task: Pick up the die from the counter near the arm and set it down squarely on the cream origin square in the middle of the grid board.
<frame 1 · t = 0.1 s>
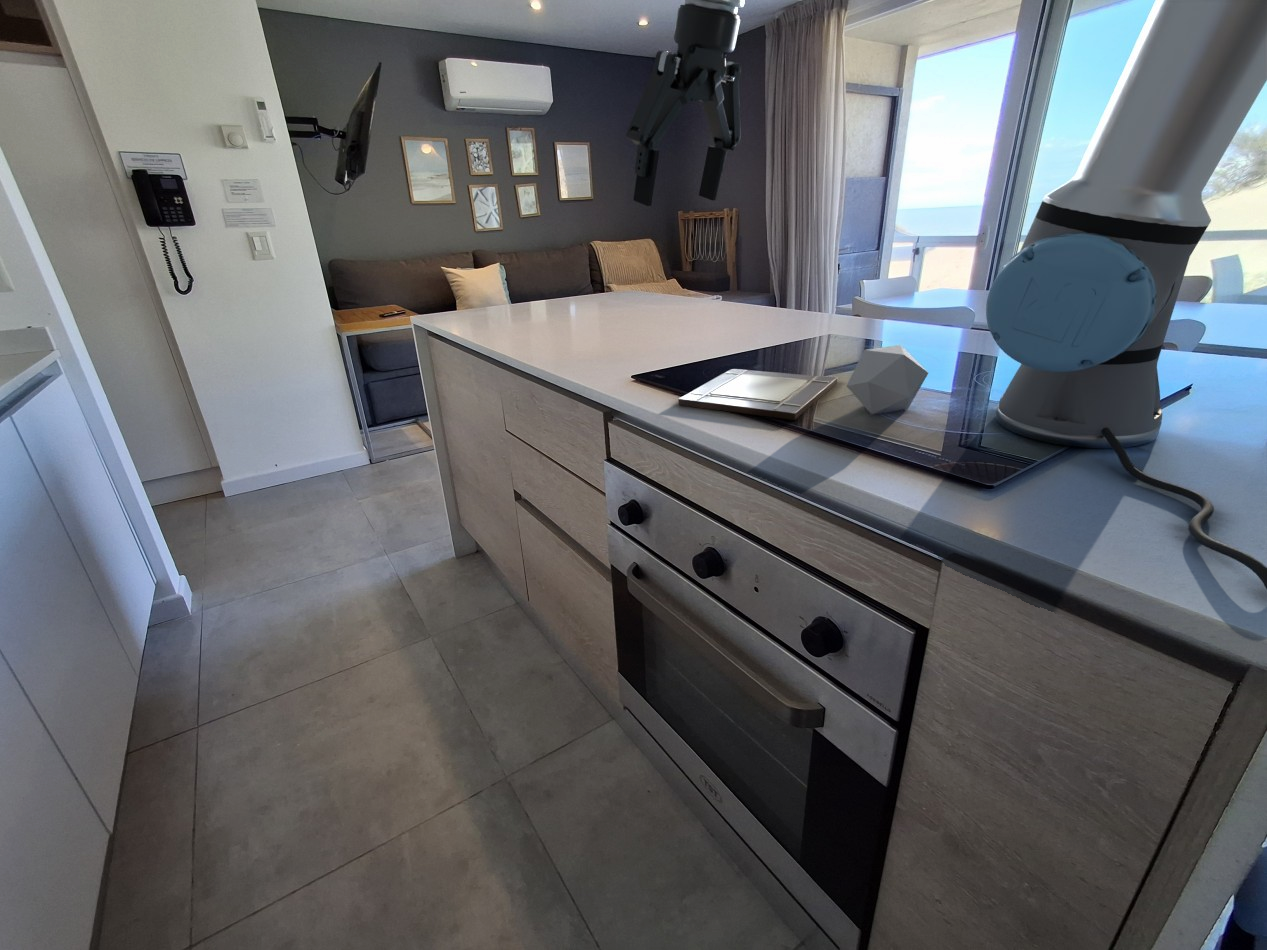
hand: (676, 200, 80), 28 cm above the countertop, tool tilted 20°, fingers open, 13 cm apart
board: (759, 394, 87), on the countertop
die: (883, 409, 77), on the countertop
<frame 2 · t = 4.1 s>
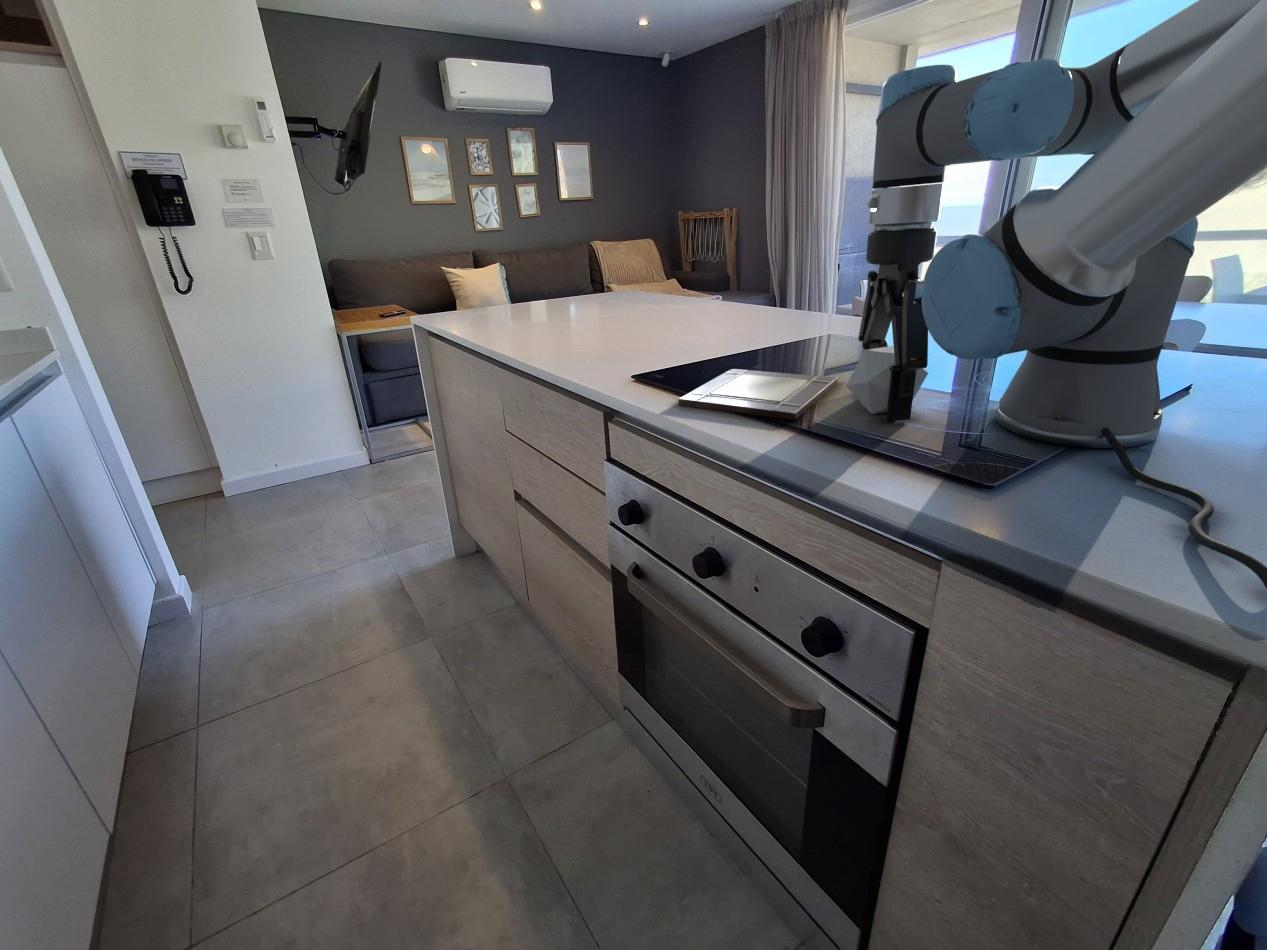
hand: (883, 406, 77), 0 cm above the countertop, tool pointing down, fingers closed on die, 10 cm apart
die: (883, 409, 77), on the countertop, touching gripper
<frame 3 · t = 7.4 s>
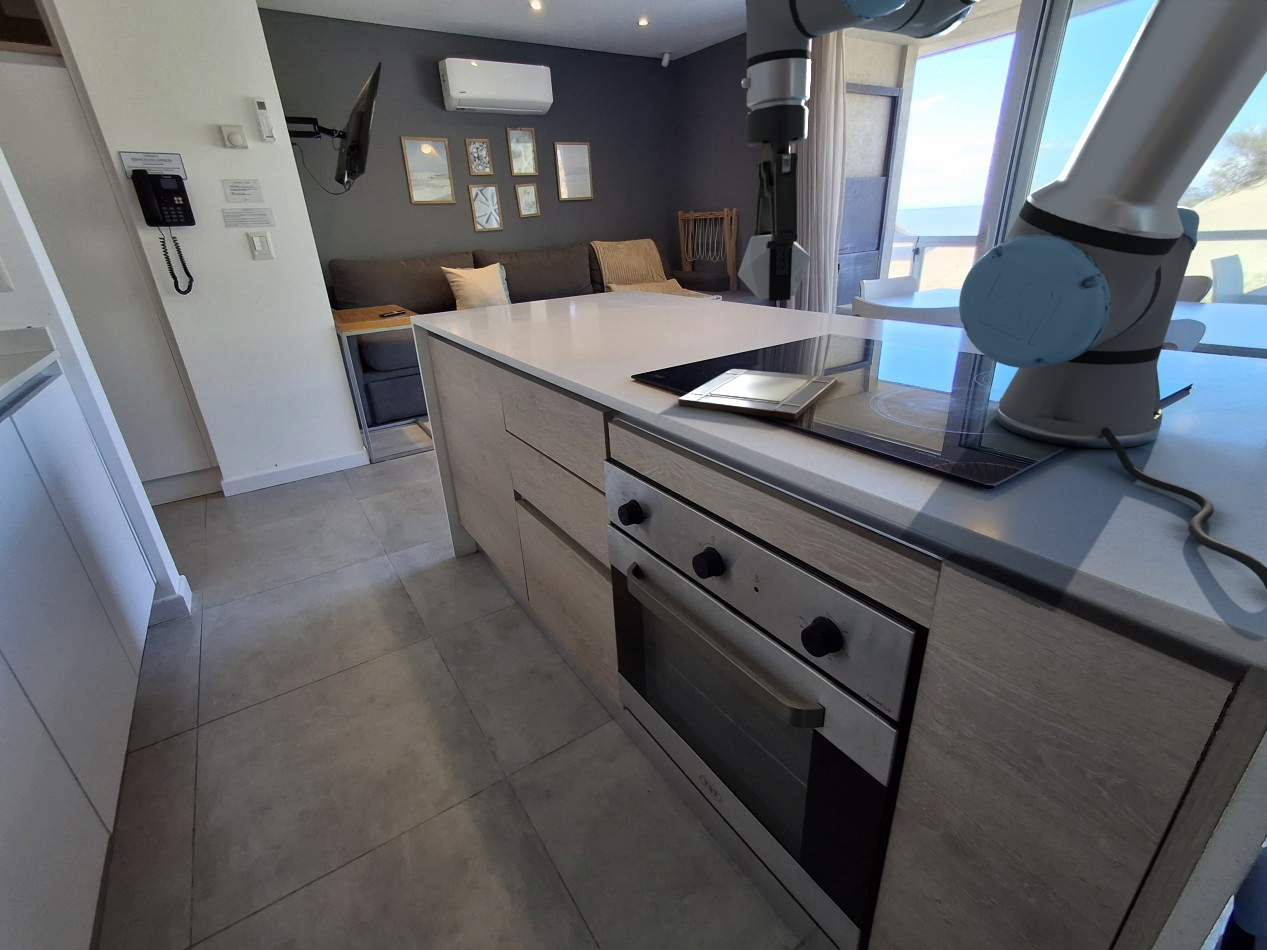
hand: (772, 294, 80), 15 cm above the countertop, tool pointing down, fingers closed on die, 10 cm apart
die: (772, 297, 80), point 14 cm above the countertop, touching gripper
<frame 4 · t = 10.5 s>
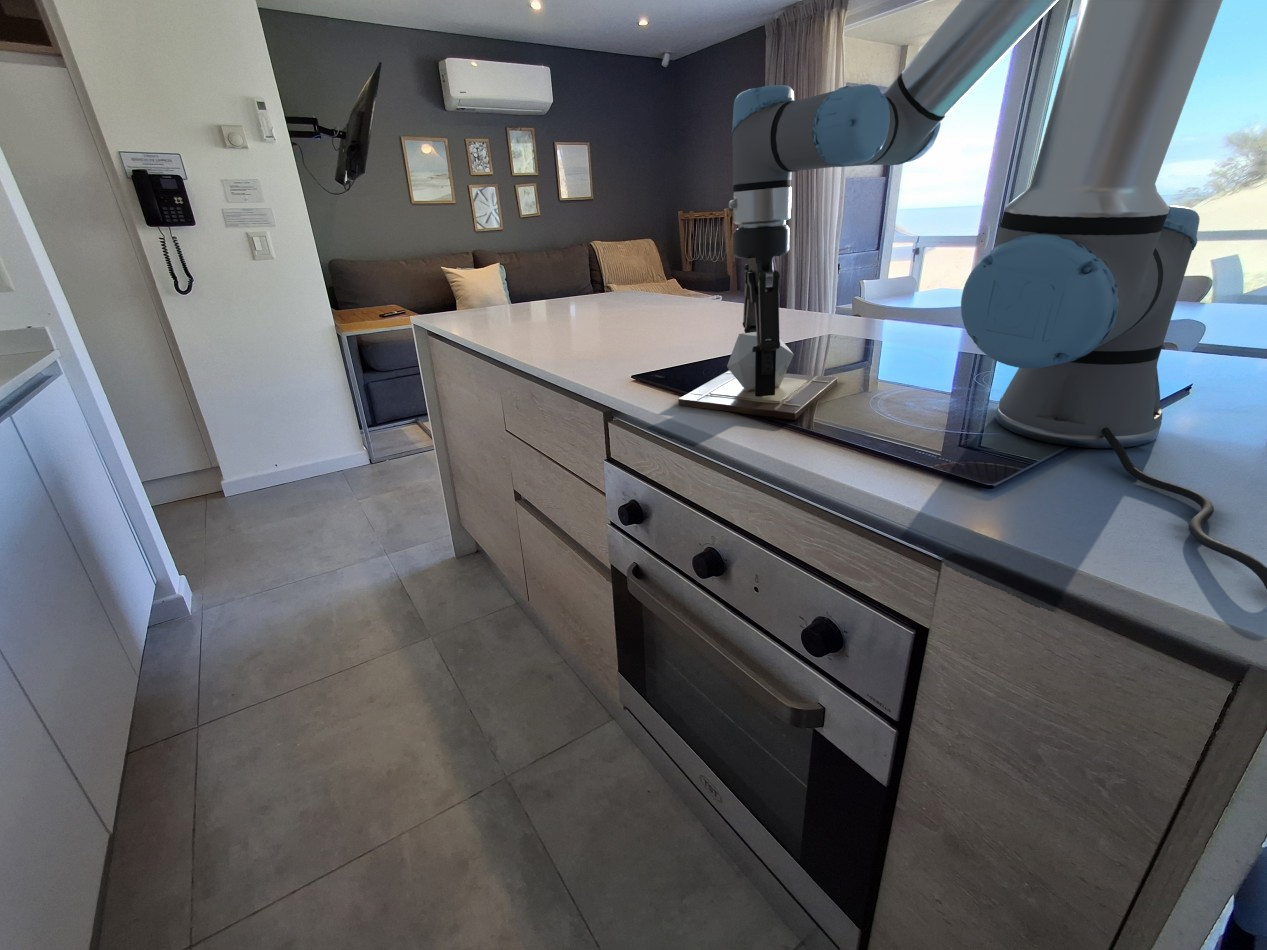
hand: (759, 385, 87), 1 cm above the countertop, tool pointing down, fingers closed on die, 10 cm apart
die: (759, 387, 87), point 1 cm above the countertop, touching gripper
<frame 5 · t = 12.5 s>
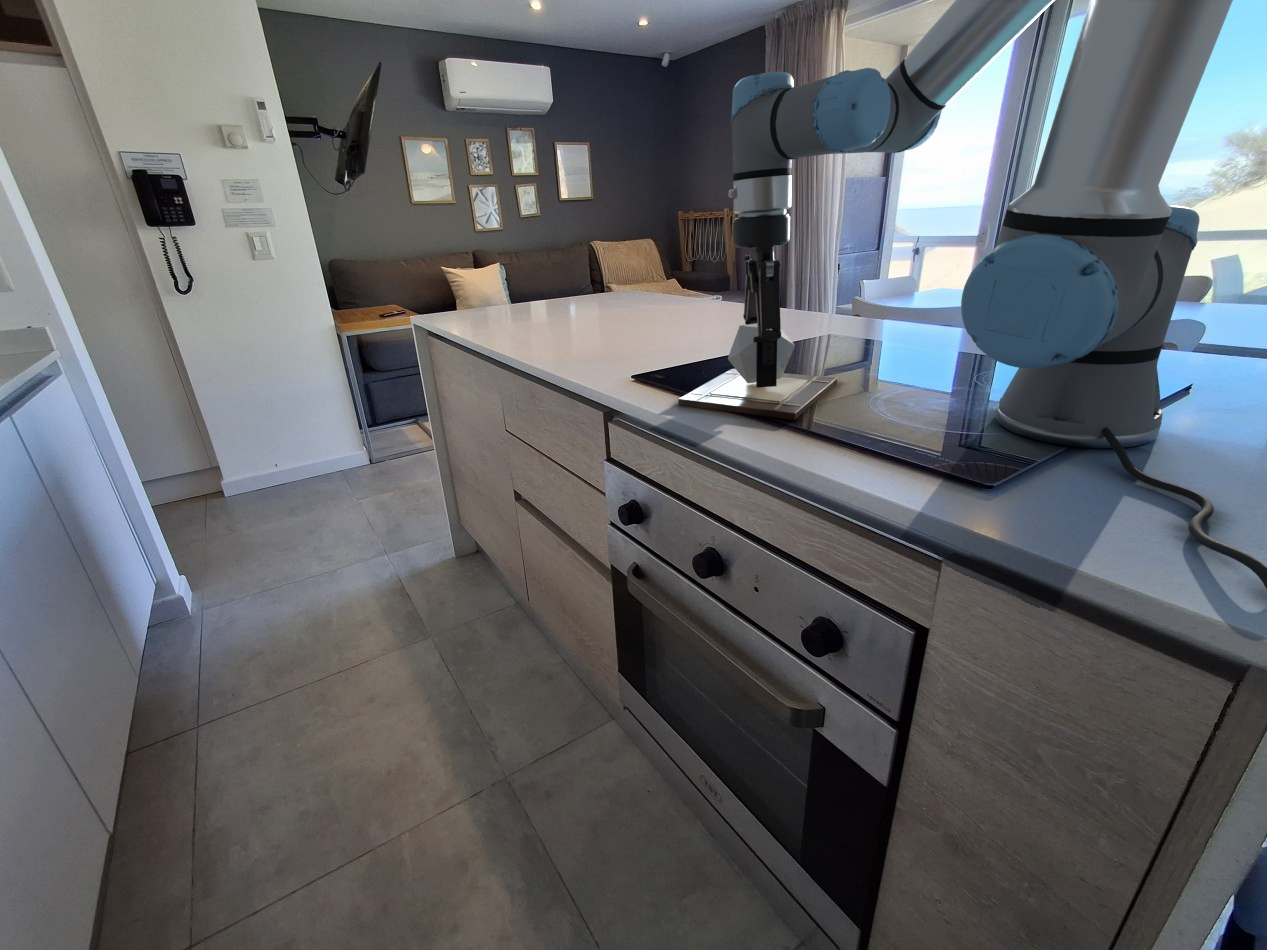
hand: (760, 376, 86), 3 cm above the countertop, tool pointing down, fingers closed on die, 9 cm apart
die: (760, 379, 86), point 2 cm above the countertop, touching gripper
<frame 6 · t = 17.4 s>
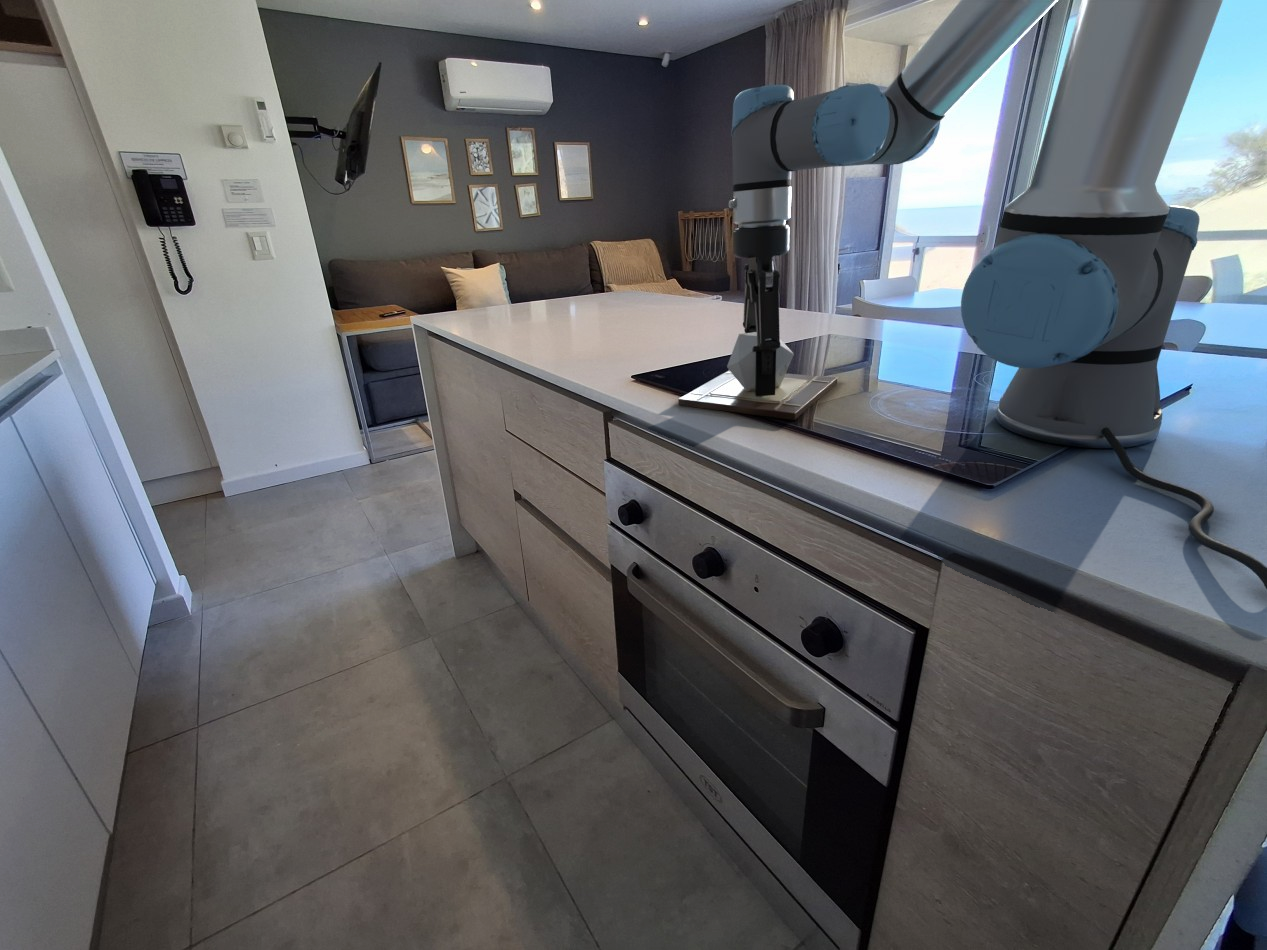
hand: (759, 385, 86), 1 cm above the countertop, tool pointing down, fingers closed on die, 9 cm apart
die: (759, 387, 87), point 1 cm above the countertop, touching gripper
when the fingers open (3 cm above the countertop, at t = 22.0 s): die drops 1 cm, resting on board.
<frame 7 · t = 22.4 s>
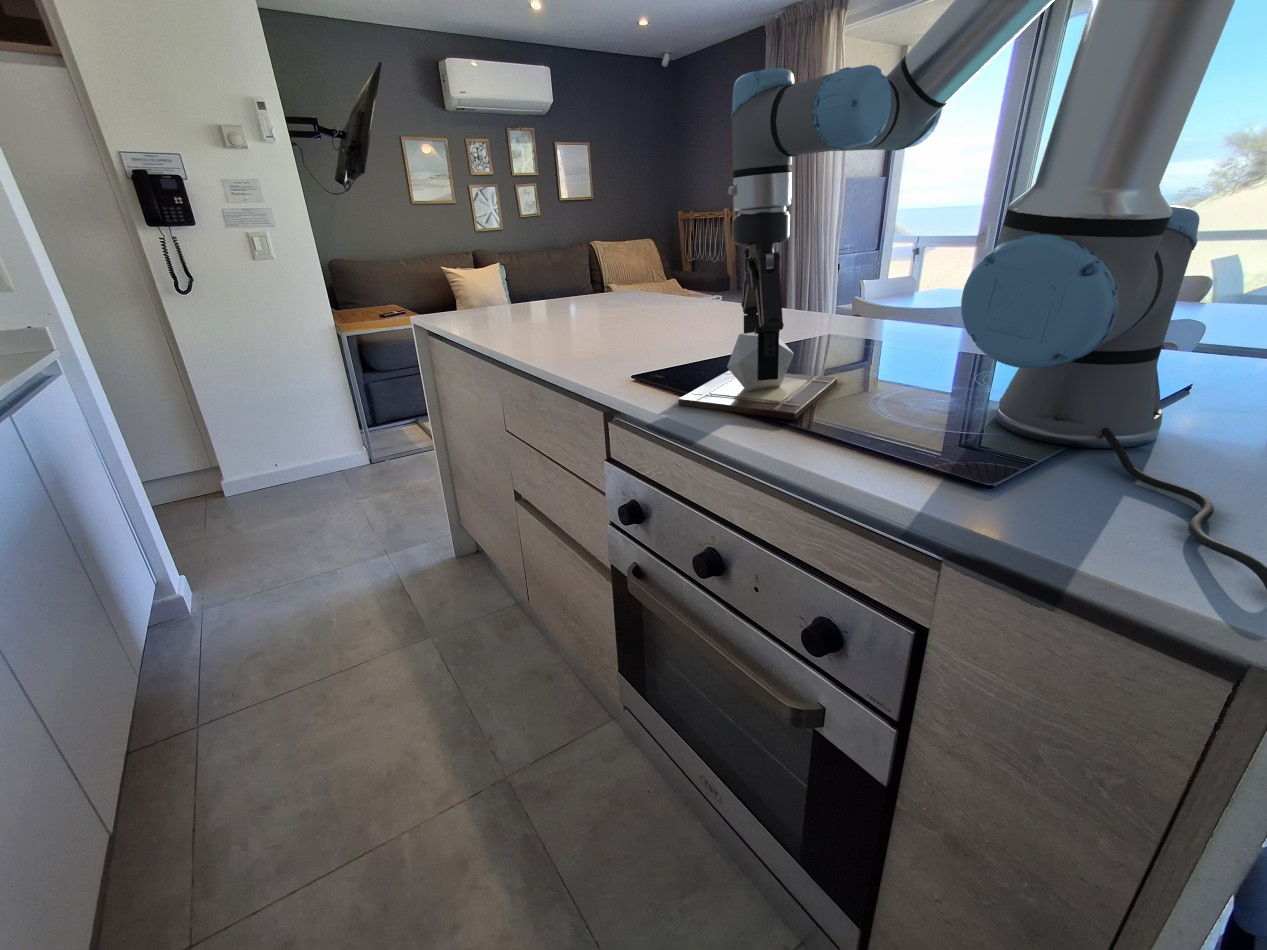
hand: (759, 367, 85), 4 cm above the countertop, tool pointing down, fingers open, 13 cm apart
die: (759, 387, 87), point 1 cm above the countertop, touching board
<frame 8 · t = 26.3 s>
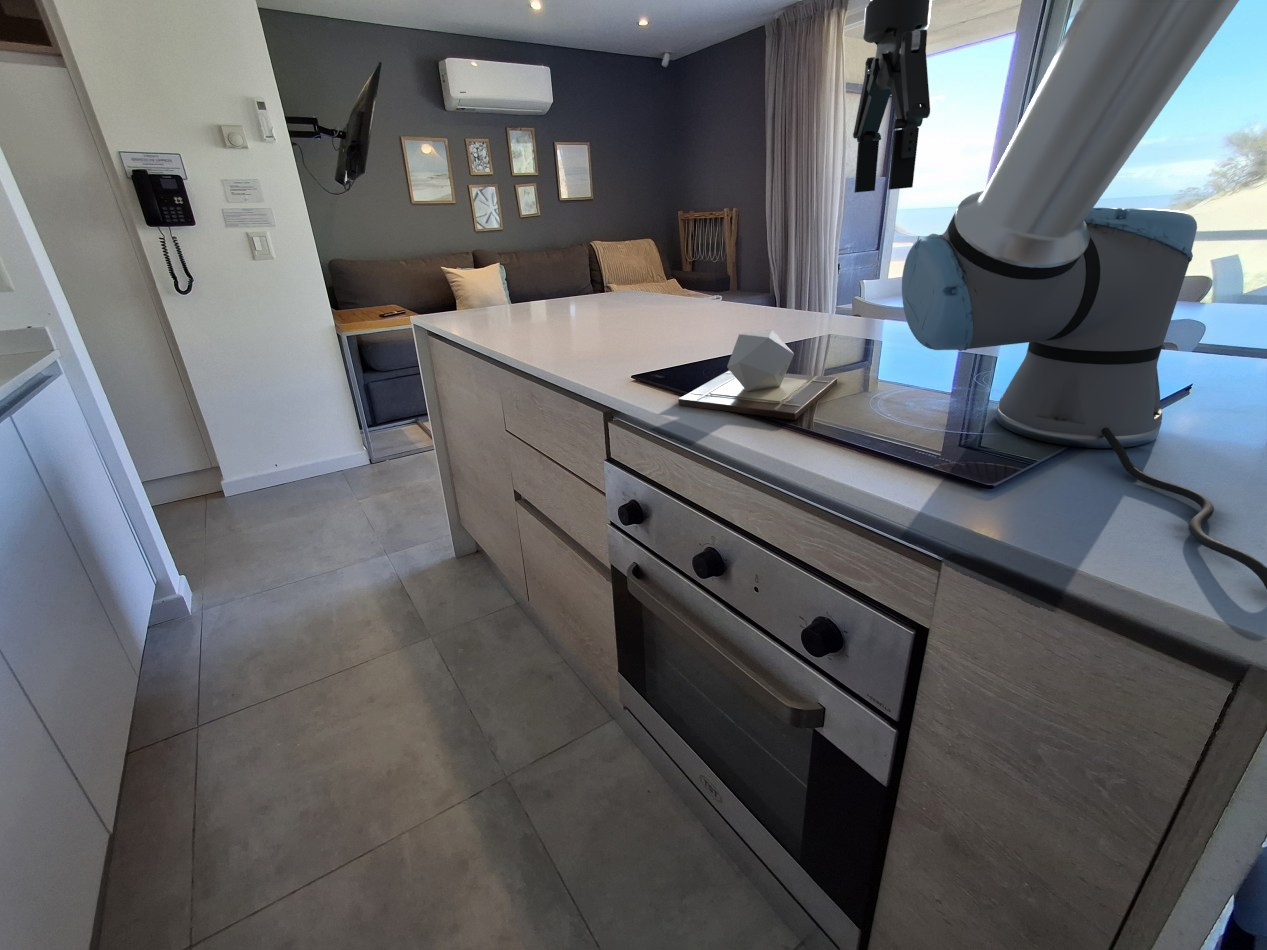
hand: (881, 190, 78), 27 cm above the countertop, tool pointing down, fingers open, 13 cm apart
nothing on the countertop moved.
at the end: die 0.1 cm off-centre on the board, point 1.0 cm above the board's base; die tilted 0°; the gripper is holding nothing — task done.
